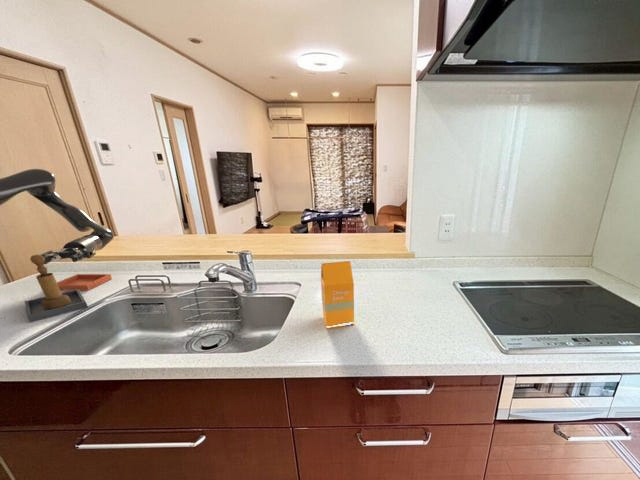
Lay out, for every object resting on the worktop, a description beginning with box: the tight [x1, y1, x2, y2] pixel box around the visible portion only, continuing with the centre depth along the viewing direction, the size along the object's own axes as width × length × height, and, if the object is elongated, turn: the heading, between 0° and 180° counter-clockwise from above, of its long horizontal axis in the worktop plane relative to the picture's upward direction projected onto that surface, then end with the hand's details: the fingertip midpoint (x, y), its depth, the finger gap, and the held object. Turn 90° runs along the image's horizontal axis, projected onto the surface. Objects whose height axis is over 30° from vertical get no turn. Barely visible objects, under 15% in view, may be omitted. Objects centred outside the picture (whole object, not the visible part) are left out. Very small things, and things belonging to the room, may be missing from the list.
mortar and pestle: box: [30, 254, 71, 309], centre depth 98 cm, size 7×6×18 cm
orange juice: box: [320, 260, 355, 330], centre depth 91 cm, size 8×9×20 cm
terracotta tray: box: [56, 273, 113, 291], centre depth 119 cm, size 14×12×2 cm
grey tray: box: [24, 289, 89, 323], centre depth 101 cm, size 16×14×2 cm
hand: (58, 260), depth 104 cm, fingers open, 8 cm apart
